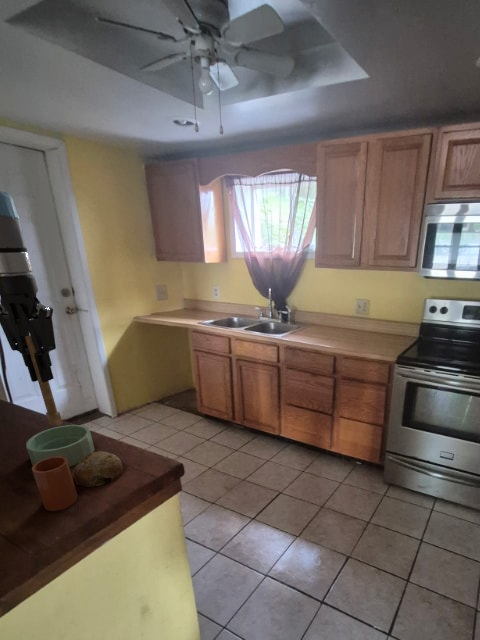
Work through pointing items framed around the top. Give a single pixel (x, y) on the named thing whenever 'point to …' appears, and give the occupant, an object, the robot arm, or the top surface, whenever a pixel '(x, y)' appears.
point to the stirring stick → (44, 389)
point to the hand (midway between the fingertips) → (42, 379)
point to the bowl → (61, 444)
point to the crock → (55, 483)
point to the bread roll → (97, 469)
